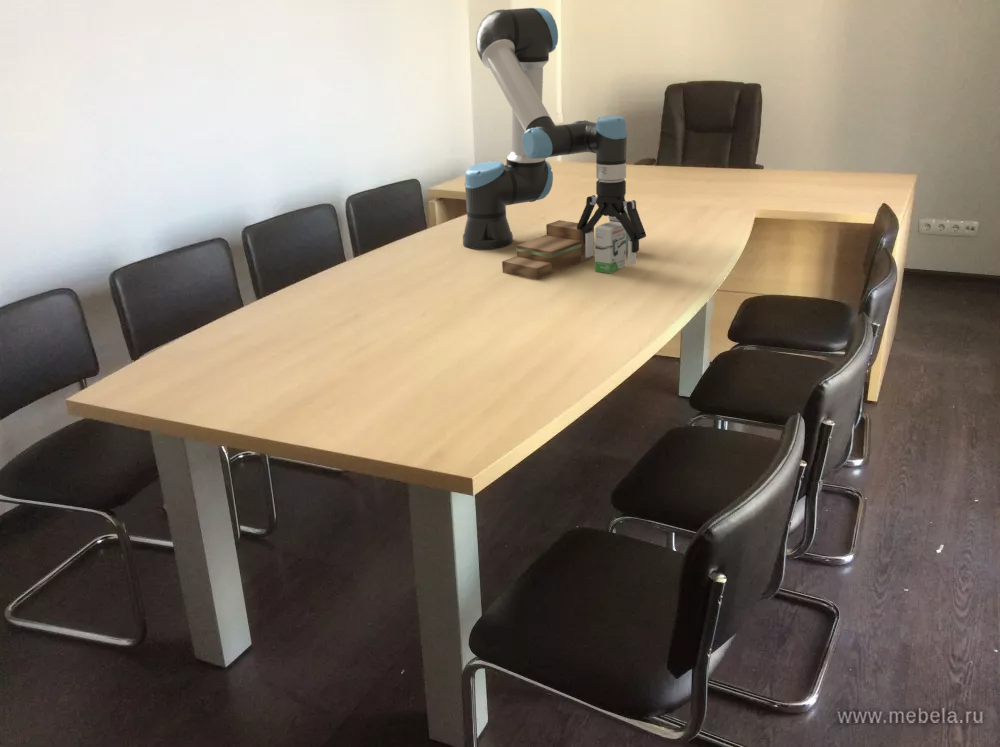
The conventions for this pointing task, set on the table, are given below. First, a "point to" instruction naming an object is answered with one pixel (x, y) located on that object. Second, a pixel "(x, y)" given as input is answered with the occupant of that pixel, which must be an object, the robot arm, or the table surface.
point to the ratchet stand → (548, 252)
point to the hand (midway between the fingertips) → (610, 260)
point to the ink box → (610, 247)
